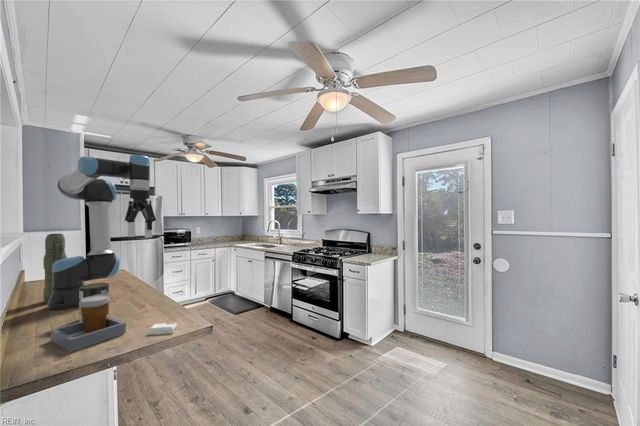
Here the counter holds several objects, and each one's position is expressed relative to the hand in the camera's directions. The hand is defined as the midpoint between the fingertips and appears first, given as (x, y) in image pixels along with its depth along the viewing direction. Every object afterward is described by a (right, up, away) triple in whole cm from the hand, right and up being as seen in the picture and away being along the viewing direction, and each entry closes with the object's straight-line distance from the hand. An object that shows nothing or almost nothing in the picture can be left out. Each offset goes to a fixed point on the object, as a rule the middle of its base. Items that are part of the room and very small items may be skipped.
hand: (139, 237), depth 126 cm
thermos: (-58, -35, +21) cm, 71 cm away
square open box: (-4, -35, -23) cm, 42 cm away
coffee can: (-17, -35, -4) cm, 39 cm away
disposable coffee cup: (-5, -34, -19) cm, 39 cm away
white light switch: (+21, -35, -19) cm, 45 cm away
